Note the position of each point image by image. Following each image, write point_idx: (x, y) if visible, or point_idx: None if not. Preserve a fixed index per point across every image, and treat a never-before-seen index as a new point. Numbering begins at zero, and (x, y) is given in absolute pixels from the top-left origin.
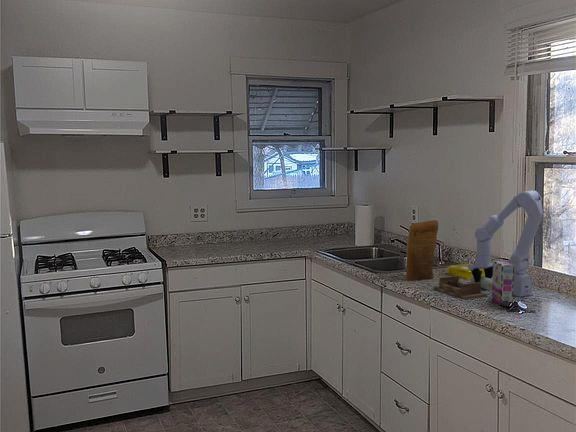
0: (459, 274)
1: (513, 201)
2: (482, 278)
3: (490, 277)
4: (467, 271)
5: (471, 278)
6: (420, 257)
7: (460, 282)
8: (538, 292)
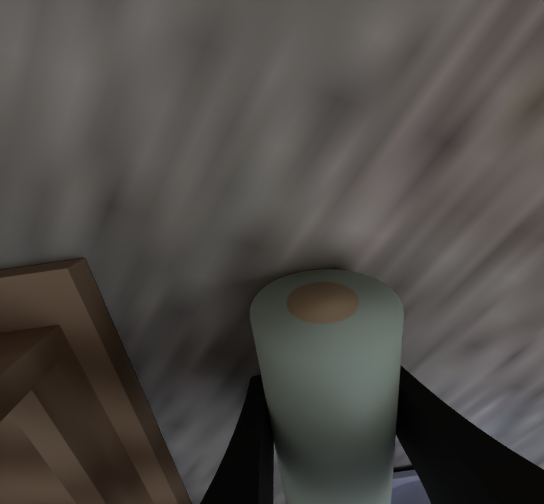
0: None
1: None
2: (309, 491)
3: (427, 483)
4: None
5: (257, 338)
6: None
7: (44, 420)
8: None
